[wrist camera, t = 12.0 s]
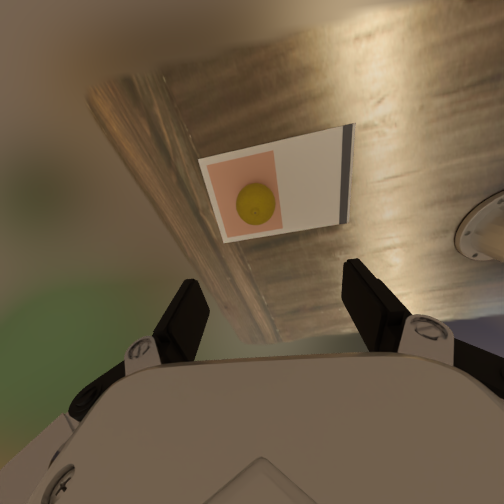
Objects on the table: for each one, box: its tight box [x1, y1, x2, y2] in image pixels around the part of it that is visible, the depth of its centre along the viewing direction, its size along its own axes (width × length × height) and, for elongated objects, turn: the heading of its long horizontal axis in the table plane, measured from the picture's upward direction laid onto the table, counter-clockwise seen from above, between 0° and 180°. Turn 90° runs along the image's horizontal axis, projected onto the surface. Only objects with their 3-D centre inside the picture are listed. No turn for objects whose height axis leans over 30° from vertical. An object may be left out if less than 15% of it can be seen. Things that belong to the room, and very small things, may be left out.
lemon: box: [236, 183, 276, 225], centre depth 25 cm, size 6×6×8 cm
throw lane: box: [198, 123, 356, 243], centre depth 28 cm, size 22×14×1 cm, turn 101°
